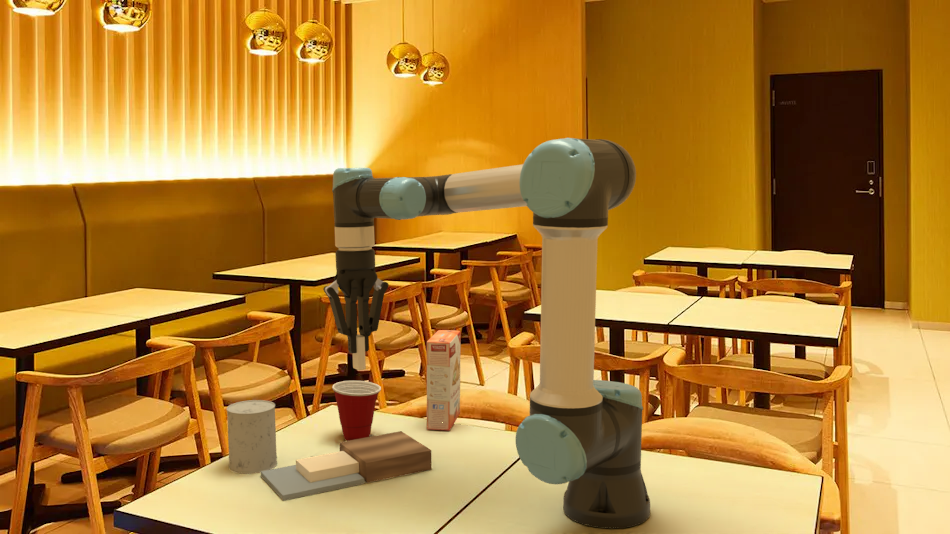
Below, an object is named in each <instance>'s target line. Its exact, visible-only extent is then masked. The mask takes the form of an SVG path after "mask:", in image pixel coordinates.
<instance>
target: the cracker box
mask: <svg viewBox="0 0 950 534" xmlns="http://www.w3.org/2000/svg"><path fill="white" fill-rule="evenodd" d="M461 333H462V332H461V330H454V329H453V330H452V329H451V330H449V329H442V330H441V329H439V330H437V331H436V332H435V333H434V334H433V335H432V336H431V337H430V338H429V339H428V340H427V341H426V430H434V431H447V432H449V431H451V429H452V428H453V426H454V424H455V423H456V421H457V420H458V417H459V416H460V414H461V345H462V343H461V341H462V340H461V338H462V336H461ZM442 422H443V423H442Z"/></svg>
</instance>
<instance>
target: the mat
mask: <svg viewBox="0 0 950 534" xmlns="http://www.w3.org/2000/svg"><path fill="white" fill-rule="evenodd" d="M260 477H261V478H262V479H263V480H264V482H265V483H267V485H269V487H270V488H271V489H272V490H273V491H274V492H275V494H277V496H278V497H279V498H280V499H281V500H282V501H283V502H284V501H288V500H292V499H293V500H294V499H297V498H304V497H307V496H312V495H317V494H320V493H325V492H330V491H336V490H340V489H345V488H350V487H355V486H359V485H364V484H365V483H366V482H365V481H364V478H363V477H362V476H361V475H359V474H358V473H354V474H349V475H344V476H339V477H335V478H330V479H325V480H320V481H315V482H311V483H310V482H309V481H308V480H307V479H306V478H305V477H304V476H303V475H302V474H300V473H299V472H298V471H297V470H296V464H292V465H287V466H282V467H277V468H272V469H270V470H266V471H261V472H260Z"/></svg>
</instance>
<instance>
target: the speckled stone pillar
mask: <svg viewBox="0 0 950 534" xmlns="http://www.w3.org/2000/svg"><path fill="white" fill-rule="evenodd" d="M226 414H227V415H226V416H227V421H226V422H227V438H228V440H227V441H228V443H227V444H228V463H229V464H228V469H229V471H231V472H233V473H236V474H244V475H247V474H249V475H250V474H258V473H259V474H261V471H266V470H271V469H275V467H276V466H277V465H278V460H277V457H278V456H277V433H276V403H275V402H273V401H271V400H263V399H252V400H249V399H248V400H243V401H237V402H235V403H231V404H229V405H228V406H227V407H226Z"/></svg>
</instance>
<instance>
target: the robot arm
mask: <svg viewBox="0 0 950 534" xmlns="http://www.w3.org/2000/svg"><path fill="white" fill-rule="evenodd" d="M636 180H637V169H636V165H635V162H634V160H633V158H632V155H630V153H629V152H628V150H626V148H624V147H623V146H622V145H620V144H619V143H617V142H614V141H612V140H609V139H600V138H599V139H597V138H596V139H590V138H589V139H588V138H574V137H565V138H564V137H563V138H558V139H556V138H555V139H551V140H546V141H545V142H542V143H541V144H538V145H537V146H536V147H535V148H534V149H533V150H532V151H531V153H529V154H528V156H527V157H526V159H525V160H524V162H523V163H522V164H517V165H516V164H515V165H509V166H502V167H501V166H500V167H495V168H494V167H492V168H489V169H488V168H486V169H480V170H479V169H478V170H473V171H465V172H459V173H457V172H456V173H453V174H451V173H450V174H449V173H448V174H444V175H443V174H442V175H436V176H435V175H434V176H432V175H431V176H412V177H410V176H407V177H405V176H401V177H400V176H396V177H376V178H375V177H373V171H372V169H371V168H370V167H347V168H346V167H343V168H341V167H340V168H339V167H338V168H337V169H335V170H334V171H333V175H332V189H331V190H332V195H333V196H332V197H333V198H332V201H333V218H334V220H333V221H334V246H335V247H336V248H338V249H337V250H336V251H335V271H336V273H335V276H334V278H333V279H334V281H333V282H332V283H330V284H329V285H326V286H324V287H323V288H322V289H323V292H324V293H325V295H326V296H327V298H328V300H329V303H330V309H331V311H332V314H333V318H334V322H335V325H336V329H337V332H338V333H339V334H341V335H344V336H346V338H347V350H348V352H349V353H350V354H352V368H353V369H355V370H356V371H364V370H365V371H366V370H367V369H366V368H367V367H366V352H369V350H370V341H369V339H370V338H369V337H370V336H371V335H372V333H373V332H377V331H378V330H379V324H380V318H381V313H382V308H383V307H382V306H383V303H384V297H385V294H386V292H387V290H388V288H389V285H390V284H389V282H387V281H383V280H381V279H380V278H378V274H377V272H376V255H375V254H376V251H375V250H374V248H372V247H374V246H376V244H375V221H374V219H391V220H392V219H393V220H396V221H397V220H398V221H401V220H411V219H415V218H419V217H424V216H427V217H429V216H447V215H449V216H450V215H452V214H458V213H459V214H461V213H468V212H469V213H470V212H478V211H479V212H480V211H488V210H489V211H490V210H500V209H509V208H510V209H511V208H521V207H527V208H528V209H529V210H530V211H531V212H532V227H534V229H535V230H537V232H538V233H539V235H541V239H542V241H541V289H540V290H541V291H540V292H541V294H540V295H541V296H540V303H541V304H540V341H539V342H540V347H539V348H540V350H539V351H540V353H539V355H540V356H539V357H540V358H539V384H538V385H537V386H536V387H535V388H534V389H533V390H532V391H530V392H529V393H530V394H529V415H528V416H525V418H524V419H523V420H522V422H521V423H520V424H519V425H518V427H517V430H516V432H515V447H516V451H517V455H518V457H519V459H520V461H521V463H522V464H523V466H525V467H527V469H528V472H529V473H530V474H531V475H532V476H533V477H535V478H536V479H538V480H539V481H542V482H544V483H546V484H549V485H563V484H566V483H568V484H567V488H566V490H565V492H564V494H563V500H562V501H563V505H562V506H563V507H562V509H563V512H564V515H566V516H567V517H568V518H569V519H570V520H572V521H574V522H576V523H580V524H582V525H584V526H590V527H594V528H601V529H623V528H631V527H634V526H635V527H636V526H638V525H640V524H643V523H644V522H645V521H647V520H648V519H650V516H651V499H650V496H649V495H648V490H647V487H646V483H645V480H644V477H643V473H642V469H641V468H642V466H641V465H642V461H641V460H642V435H643V433H642V428H643V423H642V422H643V410H644V407H643V400H642V399H643V397H642V396H643V395H642V392H641V390H640V389H639V388H638V387H636V386H634V385H632V384H629V383H624V382H620V381H611V380H603V379H602V380H600V379H594V377H595V376H594V373H595V372H594V371H595V344H596V343H595V342H596V340H595V338H596V336H595V334H596V309H597V308H596V305H597V304H596V303H597V268H598V267H597V264H598V238H599V237H600V235H601V234H602V233H603V232H604V231H605V230H607V228H608V226H609V225H608V224H609V222H608V221H609V211H610V210H612V209H615V208H617V207H619V206H620V205H622V204H623V203H624V202H626V200H627V199H628V198H629V197H630V196H631V194H632V192H633V190H634V188H635V186H636V185H635V184H636ZM372 288H373V289H374V290H373V292H372V293H373V294H372V300H371V303H370V302H369V301H370V292H371V291H372ZM339 290H340V291H341V292H342V294H343V295H344V296H343V297H344V298H343V299H344V301H345V302H344V303H345V314H344V309H343V307H342V302H341V299H340V296H339V295H338V294H339V293H340V291H339ZM369 303H370V305H369ZM369 306H370V307H369ZM369 308H370V309H369ZM357 313H358V314H357ZM357 317H358V318H357ZM358 333H359V334H358Z"/></svg>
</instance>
